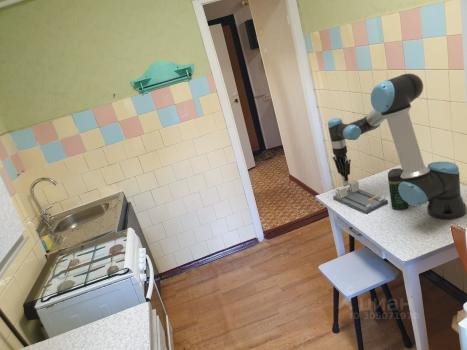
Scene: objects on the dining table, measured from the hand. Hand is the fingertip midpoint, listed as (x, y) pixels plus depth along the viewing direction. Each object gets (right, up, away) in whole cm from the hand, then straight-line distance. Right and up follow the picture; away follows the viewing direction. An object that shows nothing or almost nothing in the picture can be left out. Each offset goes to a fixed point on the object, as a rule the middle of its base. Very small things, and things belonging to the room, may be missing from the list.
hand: (346, 185), depth 212 cm
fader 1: (-4, -6, -8) cm, 11 cm away
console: (+3, -8, -14) cm, 16 cm away
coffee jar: (+18, -9, -28) cm, 35 cm away
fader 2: (+3, -3, -6) cm, 7 cm away
